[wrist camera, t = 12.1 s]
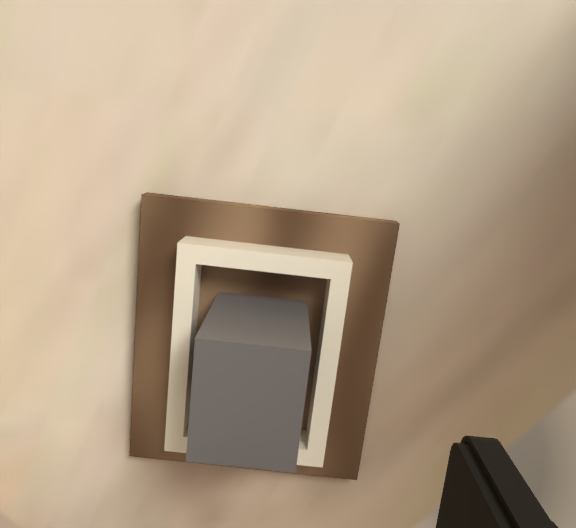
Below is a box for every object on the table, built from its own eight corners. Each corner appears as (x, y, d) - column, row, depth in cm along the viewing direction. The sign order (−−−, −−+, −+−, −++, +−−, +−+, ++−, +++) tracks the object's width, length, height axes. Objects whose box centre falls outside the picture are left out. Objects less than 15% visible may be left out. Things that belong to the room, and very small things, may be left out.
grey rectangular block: (306, 301, 28) (311, 350, 21) (292, 416, 30) (292, 495, 23) (218, 291, 28) (195, 338, 21) (208, 407, 30) (184, 484, 23)
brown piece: (395, 221, 28) (407, 229, 25) (354, 469, 32) (361, 502, 29) (146, 192, 28) (129, 198, 25) (134, 446, 32) (118, 477, 29)
